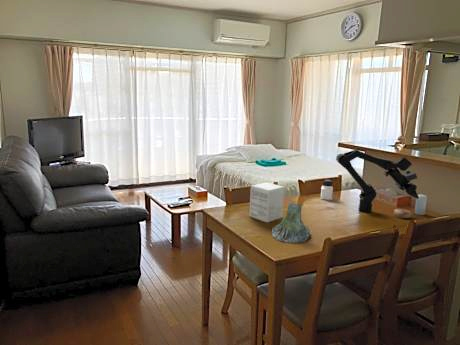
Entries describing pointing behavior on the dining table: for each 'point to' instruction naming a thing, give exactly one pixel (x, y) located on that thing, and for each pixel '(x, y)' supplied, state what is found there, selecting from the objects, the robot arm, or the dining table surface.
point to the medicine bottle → (327, 190)
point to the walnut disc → (402, 213)
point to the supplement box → (266, 201)
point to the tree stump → (291, 226)
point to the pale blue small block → (420, 204)
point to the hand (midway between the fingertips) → (414, 195)
